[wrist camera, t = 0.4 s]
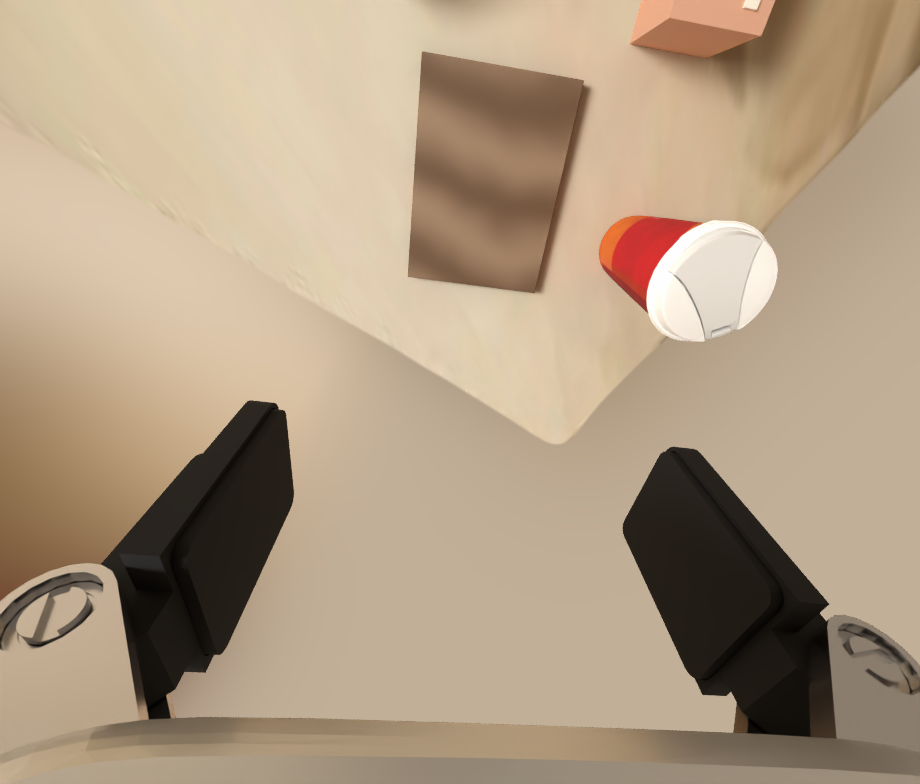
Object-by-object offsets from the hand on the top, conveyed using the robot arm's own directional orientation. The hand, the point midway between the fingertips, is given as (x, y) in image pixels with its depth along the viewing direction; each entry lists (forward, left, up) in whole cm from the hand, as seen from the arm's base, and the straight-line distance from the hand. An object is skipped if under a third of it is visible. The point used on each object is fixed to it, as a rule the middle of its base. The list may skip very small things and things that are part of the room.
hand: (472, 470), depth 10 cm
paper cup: (-2, +16, -30) cm, 34 cm away
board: (-5, +2, -30) cm, 30 cm away
